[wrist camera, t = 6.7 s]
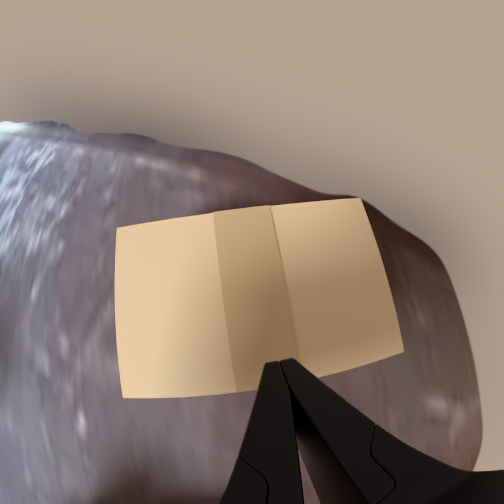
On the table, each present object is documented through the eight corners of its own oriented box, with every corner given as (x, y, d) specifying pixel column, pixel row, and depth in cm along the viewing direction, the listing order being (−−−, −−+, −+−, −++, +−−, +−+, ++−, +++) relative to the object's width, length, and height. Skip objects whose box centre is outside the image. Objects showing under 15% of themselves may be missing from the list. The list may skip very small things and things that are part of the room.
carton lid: (398, 352, 12) (405, 351, 12) (127, 396, 11) (122, 397, 10) (356, 203, 16) (360, 196, 15) (120, 232, 14) (116, 227, 14)
